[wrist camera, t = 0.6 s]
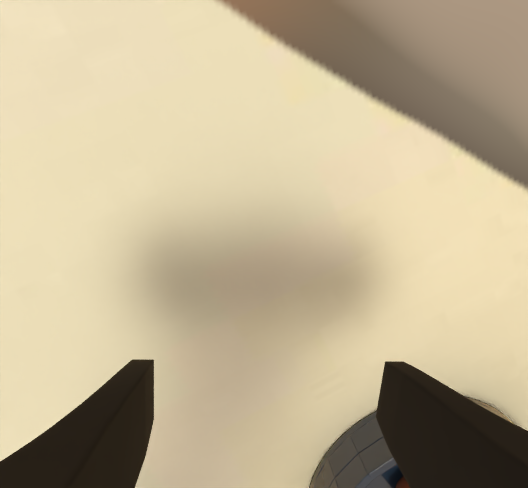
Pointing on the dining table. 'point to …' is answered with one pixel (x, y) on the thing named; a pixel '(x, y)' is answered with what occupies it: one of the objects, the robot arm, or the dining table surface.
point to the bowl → (363, 458)
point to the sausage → (402, 483)
